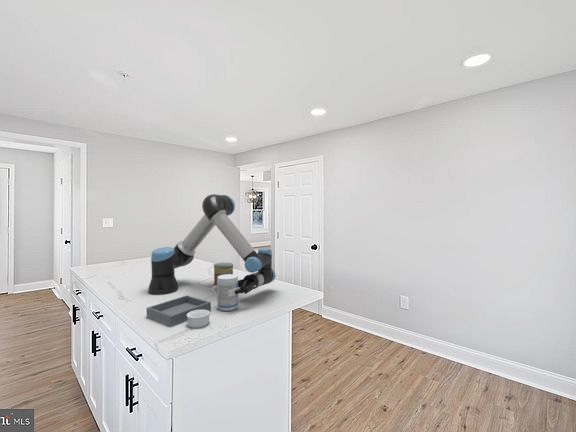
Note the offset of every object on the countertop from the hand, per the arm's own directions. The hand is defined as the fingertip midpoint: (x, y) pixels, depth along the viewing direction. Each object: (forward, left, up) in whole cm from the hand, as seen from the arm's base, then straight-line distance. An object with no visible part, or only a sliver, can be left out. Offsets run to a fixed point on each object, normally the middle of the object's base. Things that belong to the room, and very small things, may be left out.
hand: (220, 292), depth 125 cm
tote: (-12, -13, -8) cm, 19 cm away
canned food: (-31, +31, -9) cm, 45 cm away
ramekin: (+3, -15, -9) cm, 17 cm away
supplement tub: (0, +4, -9) cm, 10 cm away
